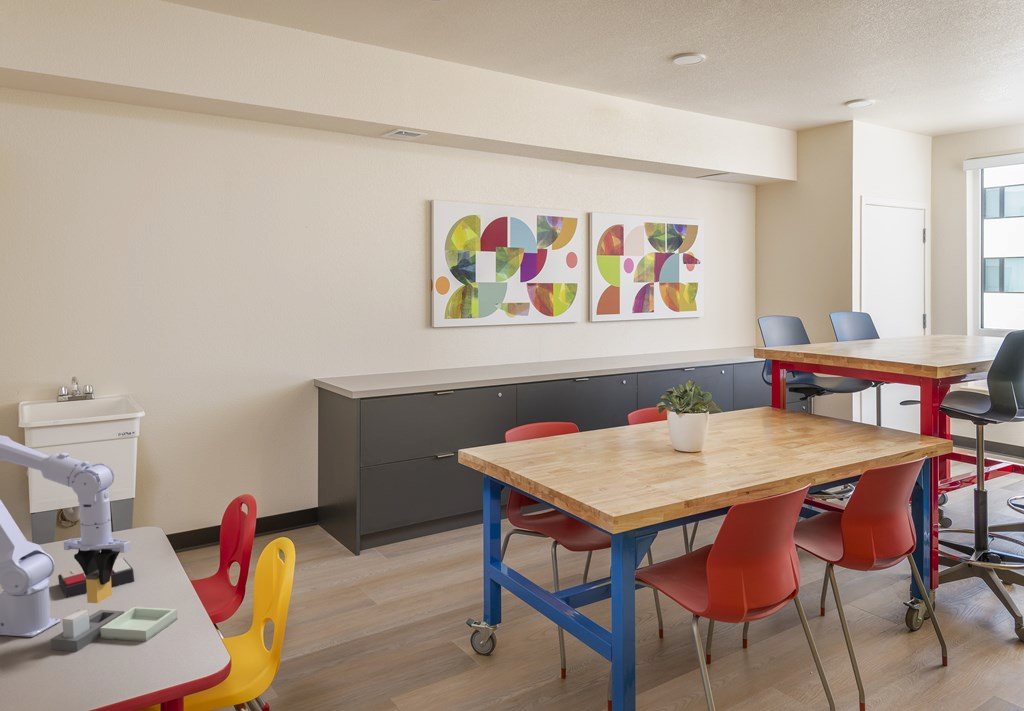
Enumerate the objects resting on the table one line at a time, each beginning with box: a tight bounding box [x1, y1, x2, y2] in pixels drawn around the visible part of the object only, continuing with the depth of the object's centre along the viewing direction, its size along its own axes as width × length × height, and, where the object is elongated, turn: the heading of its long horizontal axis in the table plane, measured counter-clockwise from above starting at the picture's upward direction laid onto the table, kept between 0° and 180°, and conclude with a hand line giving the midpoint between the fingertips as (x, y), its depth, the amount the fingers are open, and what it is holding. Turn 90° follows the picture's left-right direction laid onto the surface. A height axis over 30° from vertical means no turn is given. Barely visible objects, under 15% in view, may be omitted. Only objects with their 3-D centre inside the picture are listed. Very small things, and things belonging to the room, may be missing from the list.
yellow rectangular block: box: [86, 570, 113, 604], centre depth 154 cm, size 2×4×6 cm, turn 171°
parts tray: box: [100, 606, 178, 642], centre depth 154 cm, size 11×11×2 cm
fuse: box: [61, 609, 90, 638], centre depth 148 cm, size 2×4×6 cm, turn 171°
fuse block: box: [50, 609, 125, 652], centre depth 151 cm, size 6×14×2 cm, turn 171°
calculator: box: [57, 557, 135, 598], centre depth 180 cm, size 11×4×15 cm
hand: (98, 582), depth 154 cm, fingers closed on yellow rectangular block, 2 cm apart
